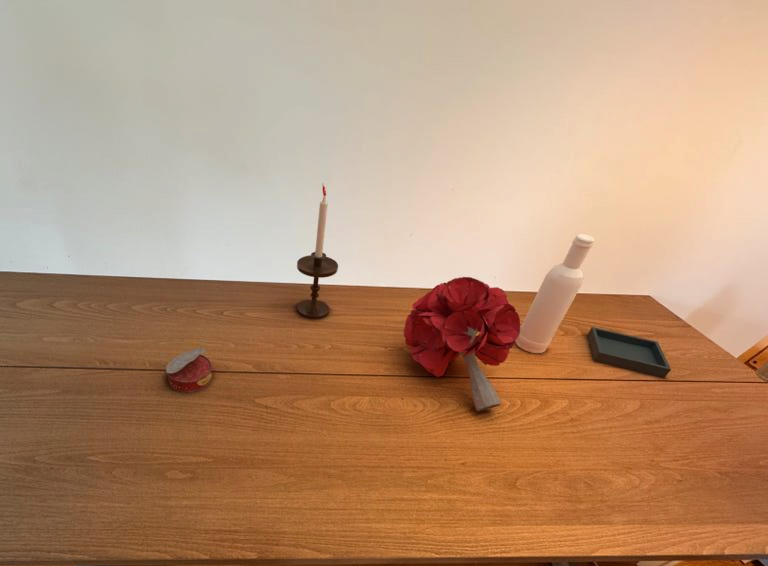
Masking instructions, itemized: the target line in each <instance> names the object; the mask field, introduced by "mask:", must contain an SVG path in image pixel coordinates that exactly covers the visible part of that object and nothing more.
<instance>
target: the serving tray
mask: <svg viewBox="0 0 768 566" xmlns="http://www.w3.org/2000/svg"><path fill="white" fill-rule="evenodd" d="M586 336H587V340H588V344H589V347H590V352H591V355H592V357H593V361H594V362H597V363H601V364H605V365H610V366H613V367H616V368H617V367H618V368H622V369H626V370H630V371H634V372H638V373H642V374H647V375H649V376H654V377H659V378H663V379H665V378H666V377H667V375H668V374H669V373H670V372H671V371H672V368H671V366H670V364H669V362H668V360H667V358H666V356H665V354H664V352H663V349H662V348H661V345H660V344H659V341H657V340H653V339H649V338H643V337H639V336H634V335H630V334H625V333H621V332H617V331H613V330H608V329H604V328H599V327H595V326H591V327H590V329H589V331H588V332H587V334H586Z"/></svg>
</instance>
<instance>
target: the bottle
mask: <svg viewBox="0 0 768 566" xmlns="http://www.w3.org/2000/svg"><path fill="white" fill-rule="evenodd" d="M594 242H595V238H594V237H593V236H591V235H590V234H589V235H588V234H585V233H579V234H577V235H576V236H575V237H574V239H573V240H572V242H571V243H572V244H571V246H570V248H569V249H568V252H567V254H566V256H565V257H564V260H563V261H562V263H558V264H556V265H554V266H553V267H551V269H550V270H548V271H547V273H546V274H545V276H544V278H543V280H542V282H541V285H540V287H539V288H538V291H537V293H536V294H535V297H534V299H533V301H532V303H531V305H530V307H529V309H528V311H527V313H526V315H525V318H524V319H523V321H522V324H521V325H520V334H519V337H518V338H517V339H516V340H515V341H516V344H515V345H516V346H518V347H519V348H520V350H523V351H526V352H528V353H531V354H532V353H533V354H542V353H544V352H546V350H547V349H548V347H549V346H550V344H551V342H552V340H553V338H554V336H555V334H556V332H557V331H558V328H559V327H560V325H561V324H562V321H564V320H563V319H565V316H566V314H567V313H568V311H569V309H570V307H571V305H572V303H573V302H574V300H575V298H576V296H577V294H578V292H579V291H580V289H581V287H582V286H583V283H584V272H583V271H582V270H581V266H582V264H583V263H584V261H585V258H586V257H587V255H588V253H589V251H590V249H591V248H592V247H593V246H594Z"/></svg>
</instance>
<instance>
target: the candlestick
mask: <svg viewBox="0 0 768 566" xmlns="http://www.w3.org/2000/svg"><path fill="white" fill-rule="evenodd" d="M322 195H323V196H322V199H321V201H320V202H319V208H318V219H317V229H316V240H315V251H313V252H311V253H310V254H309V255H305V256H302V257H300V258H299V259H298V260H297V262H296V269H297V271H298V272H300V274H302V275H305V276H307V277H312V278H313V282H312V284H311V285H310V286H309V288H310V291H311V293H309V296H310V297H311V299H304V300H301V301H300V302H298V304H297V307H296V308H297V309H296V311H297V313H298V315H300V316H301V317H303V318H305V319H308V320H321V319H324V318H326V317H327V316H328V315H329V312H330V306H329V305H328V304H327V303H326V302H324V301H322V300H320V299H317V298H319V297H320V294H319V293H318V292H319V291H320V290H321V285H319V280H320V279H321V278H323V279H324V278H329V277H332V276H334V275H336V274H337V273H338V271H339V263H338V262H337V261H336V260H335V259H333V258H331V257H328V256H327V253H324V252H323V251H324V243H325V234H326V224H327V223H326V222H327V216H328V215H327V214H328V204H329V203H328V202H327V198H326V196H327V191H326V187H325V185H324V184H322Z"/></svg>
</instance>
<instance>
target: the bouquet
mask: <svg viewBox="0 0 768 566" xmlns="http://www.w3.org/2000/svg"><path fill="white" fill-rule="evenodd" d="M507 298H508V297H507V294H506V292H505V290H504V289H503V288H499V286H498V287H497V286H496V287H495V286H494V287H491V286H490V285H489V284H487V283H485V282H484V281H481V280H479V279H477V278H475V277H471V276H460V277H455V278H452V279H450V280H448V281H446V282H441V283H439V284H437V285H435V286H434V287H433V288H432V290H430V291H429V292H426V294H424V295H423V296H422V297H420V298H418V299H416V301H415V302H413V303H412V306H411V308H412V309H411V310H410V313H409V314H408V315H407V317H406V319H405V323H404V328H403V336H404V338H405V340H404V342H405V344H406V346H408V347H411V348H410V349H409V351H408V352H409V353H410V354H411V357H412V358H413V360H414V361H415V362H417V363H418V364H420V365H421V366H423V367H424V370H426V372H427V373H430V374H431V375H434V376H435V377H437V378H439V377H442V376H444V374H445V372H446V370H447V369H448V366H449V362H452V361H454V360H456V359H458V358H459V357H460V356H461V358H462V360H463V361H464V364H465V366H466V368H467V372H468V376H469V384H470V393H471V397H472V399H471V400H472V403H473V405H474V408H475V410H476V412H480V411H486V410H489V409H493V408H497V407H499V406H501V405H502V403H501V400H500V397H499V395H498V393H497V391H496V389H495V388H494V386H493V385H492V383H491V381H490V380H489V379H488V377H487V376H486V374H485V373H484V372H483V371H482V369H481V367H480V365H479V363H478V360H479V361H481V363H483V364H484V365H485V366H487V365H488V366H490V367H498V366H500V364H502V363H505V361H506V360H507V359H508V356H509V354H510V350H511V349H512V348H514V346H516V345H517V344H516V341H515V340H516V339H517V338H518V337H519V334H520V328H521V319H520V318H521V317H520V316H519V313H518V312H517V311H516V308H515V307H514V305H512V304H510V302H509V300H508V299H507Z"/></svg>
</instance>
